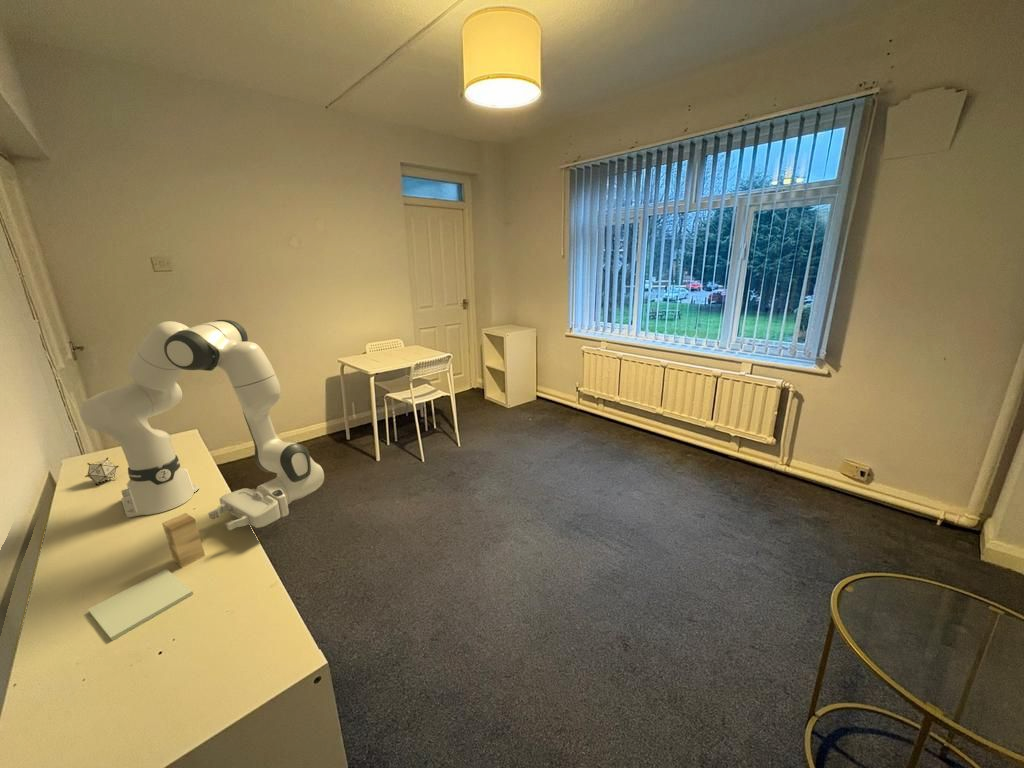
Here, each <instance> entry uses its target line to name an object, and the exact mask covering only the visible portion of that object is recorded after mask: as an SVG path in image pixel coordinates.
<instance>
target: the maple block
mask: <svg viewBox="0 0 1024 768" xmlns="http://www.w3.org/2000/svg"><path fill="white" fill-rule="evenodd" d="M161 525H162V527H163V530H164V534H165V538H166V540H167V541H166V542H167V544H168V547H169V551H170V554H171V558H172V560H173V562H174V563H175V564H177V565H178V566H180V568H185V567H186V566H188V565H190V564H192V563H195V562H196V561H198V560H200V559H201V557H202V558H203V556H204V557H206V554H205V550H204V546H203V543H202V539H201V537H200V536H201V535H200V532H199V529H198V525H197V522H196V519H195V517H193V516H191V515H190V514H188V513H187V512H184V513H182V514H179V515H178V516H175V517H173V518H170V519H168V520H166V521H164V522H162V523H161ZM197 559H198V560H197Z"/></svg>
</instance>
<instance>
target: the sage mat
mask: <svg viewBox="0 0 1024 768" xmlns="http://www.w3.org/2000/svg"><path fill="white" fill-rule="evenodd" d="M192 595H194V591H193V590H192V589H191V588H189V586H187V585H186V584H185V583H184V582H183V581H182V580H180V579H179V578H178V577H176V576H175V574H173V573H172V572H171V571H170V570H168V569H167V568H166V569H164V570H162V571H160V572H158V573H156V574H154V575H152V576H150V577H148V578H146V579H144V580H143V581H141V582H138V583H136V584H135V585H132V586H130V587H128V588H126V589H124V590H122V591H120V592H119V593H117V594H115V595H113V596H110V597H109V598H107V599H105V600H103V601H100V602H99V603H97V604H95V605H93V606H91V607H89V608H88V609H87V610H88V612H89V614H90V616H92V618H93V619H94V620H95V621H96V623H97V624H98V625H99V627H100V628H101V629H102V630H103V632H104V633H105V634H106V636H107V637H108V639H110V641H114V640H116V639H117V638H120V637H121V636H123V635H125V634H126V633H128V632H130V631H131V630H133V629H135V628H137V627H138V626H140V625H142V624H144V623H146V622H147V621H149V620H151V619H153V618H154V617H157V615H160V614H161V613H163V612H165V611H166V610H168V609H170V608H171V607H173V606H174V605H177V604H178V603H180V602H181V601H184V600H185V599H187V598H189V597H190V596H192Z"/></svg>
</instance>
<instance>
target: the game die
mask: <svg viewBox="0 0 1024 768" xmlns="http://www.w3.org/2000/svg"><path fill="white" fill-rule="evenodd" d="M86 464H87V465H88V471H87V474H86V475H85V476H84V478H89V479H91V480H92V481H93V482H94V483H96V484H97V483H98V484H100V483H99V482H101V483H103V482H102V481H104V482H106V481H105V480H107V481H109V480H108V479H110V480H112V479H111V478H113V477H114V478H116V477H115V476H116V472H117V468H119V467H120V466H119V465H114V464H113V462H111V461H110V460H109V457H106V458H105V459H104V460H100V461H97V462H93V463H89V462H87V463H86ZM114 478H113V479H114Z"/></svg>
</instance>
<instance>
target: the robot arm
mask: <svg viewBox="0 0 1024 768" xmlns="http://www.w3.org/2000/svg"><path fill="white" fill-rule="evenodd" d="M245 329H246V328H244V326H242V325H241V324H240V323H238V322H237V321H235V320H230V319H217V320H214V321H210V322H205V323H200V324H197V325H195V326H194V325H193V326H192V327H189V326H187V325H186V324H183V323H180V322H179V321H174V320H173V321H172V320H171V321H169V320H168V321H162V322H160V323H158V324H157V325H156V326H155V327H154V328H152V330H151V331H150V332H149V333H148V334H147V335H146V336H145V338H144V339H143V341H142V342H141V343H140V345H139V347H138V348H137V350H136V352H135V353H134V356H133V357H132V359H131V360H130V362H129V365H128V367H127V372H128V374H129V377H130V378H131V379H132V380H133V381H132V382H130V383H129V384H126V385H123V386H122V385H121V386H119V387H116V388H113V389H109V390H105V391H102V392H99V393H98V394H95V395H93V396H91V397H90V398H87V399H85V400H84V401H83V402H82V403H81V405H80V407H79V408H80V409H79V415H80V418H81V420H82V422H83V423H84V424H85V425H86V427H88V428H90V429H92V430H94V431H97V432H101V433H105V434H106V435H107V434H108V435H109V436H111V437H112V438H114V440H115V441H116V442H117V443H118V444H119V445H120V447H121V450H122V452H123V454H124V457H125V459H126V462H127V465H128V468H127V474H128V477H129V480H128V482H127V483H126V486H127V488H126V489H125V488H124V489H122V490H121V491H120V492H121V495H122V498H121V502H122V506H123V510H124V513H126V514H125V517H126V518H134V517H137V516H146V515H147V516H150V515H155V514H159V513H164V512H167V511H169V510H172V509H175V508H177V507H180V506H181V505H183V504H185V503H187V502H188V501H190V499H192V497H193V496H194V494H195V493H197V492H198V491H199V490H200V487H199V485H195V484H193V483H192V480H191V477H190V474H189V471H188V469H186V468H184V467H181V464H180V463H181V462H180V459H179V456H178V455H177V454H176V453H175V452H176V451H175V449H174V445H173V443H172V439H171V435H170V434H169V433H168V432H166V431H165V430H162V429H158V428H152V426H150V424H149V421H148V419H150V418H152V417H155V416H157V415H160V414H162V413H165V412H168V411H169V410H171V409H173V408H174V407H175V406H177V405H178V404H180V403H181V401H182V399H183V391H182V389H181V386H180V384H178V383H177V381H178V378H179V377H180V375H181V374H182V372H183V370H184V371H207V372H212V371H214V369H216V367H217V368H219V369H221V370H222V371H224V373H225V374H226V375H227V377H228V379H229V382H230V383H231V386H232V388H233V391H234V393H235V394H236V396H237V399H238V401H239V404H240V406H241V409H242V410H241V411H242V414H243V417H244V419H245V422H246V425H247V427H248V431H249V433H250V436H251V438H252V441H253V444H254V462H255V464H256V466H257V468H258V469H260V470H261V471H263V472H266V473H276V477H275V478H274V479H271V480H268V481H267V482H264V483H263V484H260V485H258V486H257V487H256V488H252V489H250V488H248V487H247V488H245V487H244V488H241V489H236V490H234V491H232V492H231V491H230V492H229V493H226V494H224V495H222V496H221V497H220V498H219V503H220V505H218V506H217V507H216V508H215V509H214V510H212V511H209V512H208V514H207V515H208V518H209V519H211V520H215V519H218V518H219V517H220V515H221V514H224V513H230V514H231V515H233V516H235V517H236V518H238V519H235V520H233V519H231V520H229V521H226V523H225V524H224V525H225V528H226V529H227V530H229V531H232V530H234V529H237V528H240V527H241V528H242V527H245V526H248V525H250V526H252V527H253V528H256V529H258V528H263V527H266V526H268V525H270V524H272V523H274V522H275V521H278V519H280V518H285V517H286V516H288V515H290V514H289V513H290V511H289V506H288V505H290V504H291V503H292V502H293V501H296V500H300V499H302V498H305V497H306V496H308V495H310V494H311V493H313V492H315V491H316V490H318V489H319V488H320V487H321V486H322V485H323V483H324V480H325V473H324V469H323V468H322V466H321V465H320V464H319V463H317V462H315V461H314V459H313V458H312V457H311V455H310V452H309V450H308V448H307V447H306V446H305V445H303V444H300V443H297V442H288V441H284V440H282V439H280V438H279V437H278V435H277V434H276V430H275V427H274V424H273V422H272V419H271V416H270V412H271V408H272V407H273V406H275V405H276V404H277V402H278V401H279V399H280V398H281V395H282V392H281V391H282V390H281V389H282V388H281V384H280V381H279V379H278V377H277V374H276V372H275V370H274V368H273V366H272V363H271V362H270V360H269V358H268V357H267V355H266V354H265V351H264V350H263V349H262V348H261V346H259V344H257V343H256V342H253V341H248V339H249V338H248V337H249V336H248V333H247V331H246V330H245ZM198 489H199V490H198ZM197 490H198V491H197ZM196 491H197V492H196ZM194 492H195V493H194ZM192 495H193V496H192Z"/></svg>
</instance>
